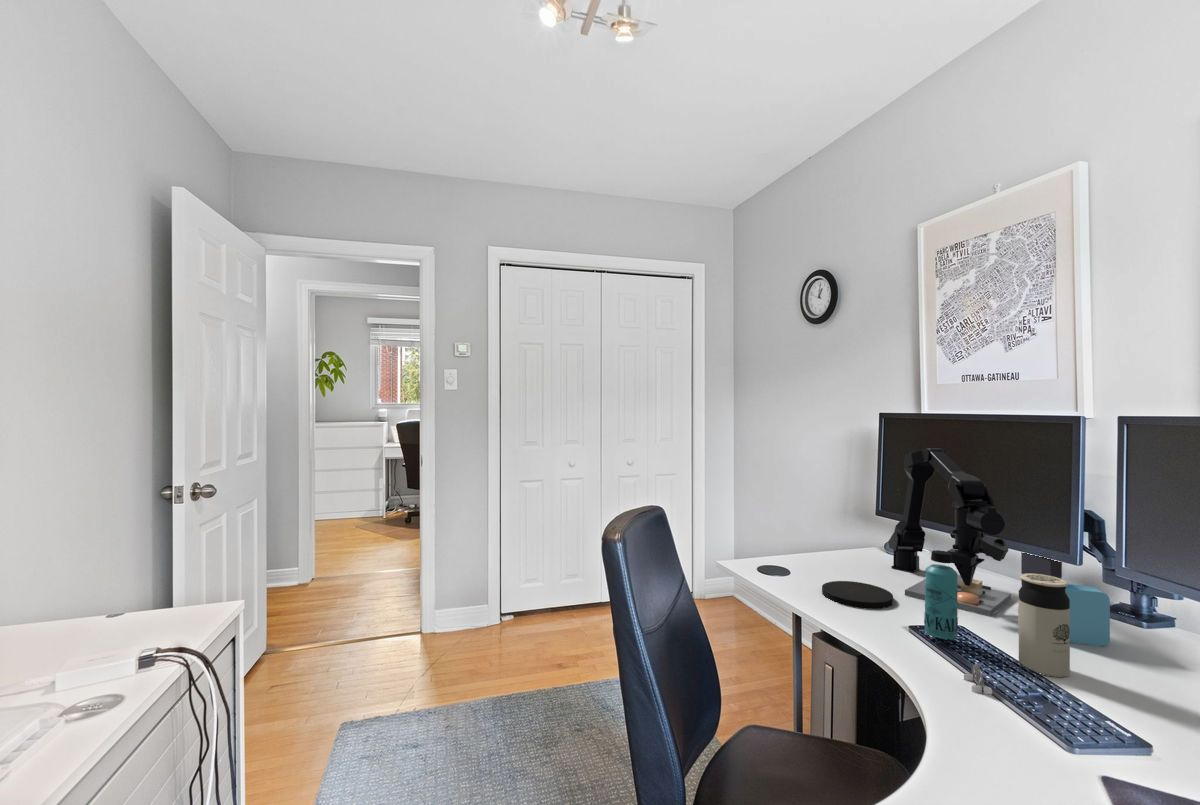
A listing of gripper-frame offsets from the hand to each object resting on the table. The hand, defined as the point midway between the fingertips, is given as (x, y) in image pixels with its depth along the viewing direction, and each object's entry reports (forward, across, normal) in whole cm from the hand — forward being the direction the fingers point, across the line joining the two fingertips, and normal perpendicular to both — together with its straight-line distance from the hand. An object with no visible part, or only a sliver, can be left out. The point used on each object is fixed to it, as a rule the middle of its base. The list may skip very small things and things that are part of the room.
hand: (967, 585), depth 144 cm
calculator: (+6, +30, -10) cm, 32 cm away
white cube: (+4, +13, +6) cm, 15 cm away
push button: (+5, 0, 0) cm, 5 cm away
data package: (+6, -6, -22) cm, 23 cm away
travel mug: (+6, -29, -21) cm, 36 cm away
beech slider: (+4, +7, +1) cm, 8 cm away
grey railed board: (+6, +6, +4) cm, 9 cm away
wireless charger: (+6, -16, +22) cm, 28 cm away
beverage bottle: (+6, -30, -3) cm, 31 cm away
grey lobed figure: (+6, -51, -17) cm, 54 cm away
